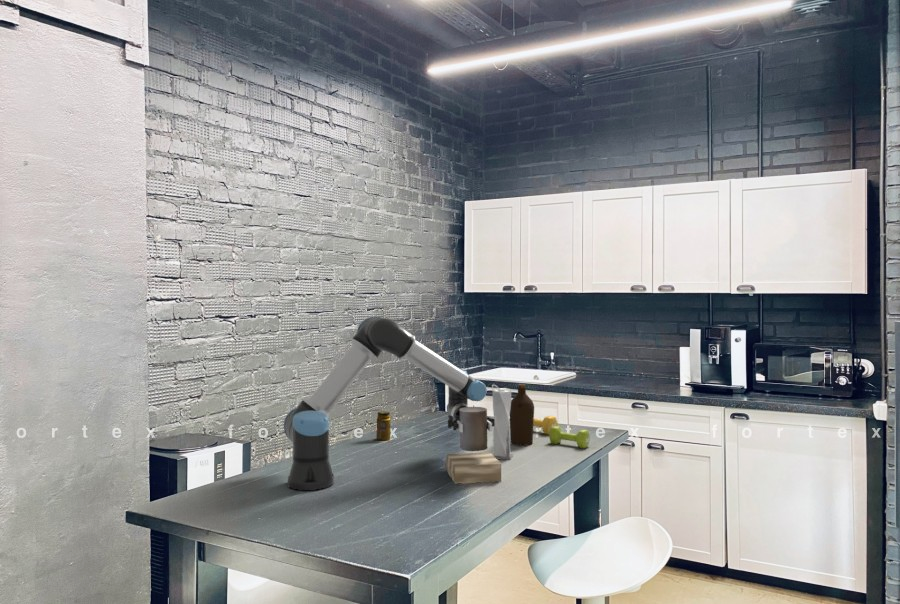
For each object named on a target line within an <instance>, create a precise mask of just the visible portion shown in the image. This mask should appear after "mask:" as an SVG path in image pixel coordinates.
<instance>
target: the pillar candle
mask: <svg viewBox="0 0 900 604" xmlns="http://www.w3.org/2000/svg"><path fill="white" fill-rule="evenodd" d="M459 410H460V422H461V423H462V424H463V432H460V431H459V449H461V450H462V451H466V452H482V451H485V450H487V449H488V429H487V416H488V409H487V408H486V407H483V406H475V405H472V406H468V407H465V408H461V409H459Z"/></svg>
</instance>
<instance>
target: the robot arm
mask: <svg viewBox="0 0 900 604" xmlns="http://www.w3.org/2000/svg"><path fill="white" fill-rule="evenodd" d="M382 352H386V353H389V354H391V355H393V356H395V357H397V358H398V359H404V360H406V361H408V362H409V363H412V364H413V365H414V366H416V367H417V368H419V369H421V370H422V371H424V372H426V373H427V374H428V375H430V376H432V377H433V378H435V379H436V380H438V381H440V382H441V383H442V384H444V385H447V386H448V388H447V389H448V398H447V399H448V401H447V402H448V403H447V405H446V413H448V415H447V428H448V429H451V428H452V427H453V431H457V430H458V431H459V433H460V432H463V424H462V423H461V422H460V410H459V409H461V408H465V407H469V405H468V403H469V402H468V400H470V401H472V402H481V401H482V400H484V399H485V398H486V395H487V392H488V389H487V386H486V384H485V383H484V382H482V381H480V380H479V379H478V380H477V379H476V378H474V377H472V376H470V375H469V374H468V371H467V370H463V369H460V368H459V367H457V366H456V365H454V364H453V363H452V362H450V361H448V360H446V359H445V358H444V357H442V356H441V355H439V354H438V353H436V352H434V351H433V350H432V349H430V348H428V347H427V346H425V345H424V344H422V343H421V342H419V341H417V340H416V335H414V334H412V333H411V332H410V331H409V330H407V329H405V328H404V327H403V326H402V325H400V324H399V323H398V322H396V321H394V319H393V320H392V319H391V318H388V317H381V316H371V317H367V318H365V319H364V320H363V321H360V323H359V325H358V327H357V329H356V334H354V336H353V337H352V339H351V346H350V347H349V349H347V351H346V352H345V354H344V355H343V356H342V358H341V359H340V360H339V361H338V362H337V364H336V365H335V366H334V368H333V369H332V370H330V373H329V374H328V375H327V376H326V377H325V378H324V380H323V381H322V382H321V383H320V385H319V386H318V388H316V390H315V391H314V392H313V394H311V396H310V397H309V398H303V399H302V401H301V402H300V403H299V404H298V405H297V407H295V408H293V409H291V410H290V411H288V413H287V414H286V415H285V417H284V420H283V429H284V430H283V431H284V434H285V436H286V437H287V438H288V440H290V441H291V443H292V464H291V468H290V471H289V474H288V477H287V487H288V486H289V487H291V488H293V489H292V490H295V489H298V490H297V491H303V490H310V491H317V490H316V489H319V490H322V489H321V488H324V489H326V487H327V488H329V486H330V487H332V486H333V485H334V483H335V475H334V473H333V470H332V467H331V463H330V459H329V458H330V456H329V453H330V452H329V451H330V450H329V448H330V445H329V443H330V436H329V435H330V432H329V431H330V430H329V429H330V422H329V420H330V415H329V414H330V412H331V411H332V410H333V409H334V407H335V406H336V404H338V402H339V401H340V400H341V398H342V397H343V396H344V394H345V393H346V392H347V390H348V389H349V388H350V387H351V386H352V384H353V383H354V381H355V380H356V379H357V378H358V376H359V375H360V374H361V372H362V371H363V370H364V369H365V368H366V366H367V365H369V363H370V361H372V360H377V359H378V358H379V356H380V355H381V354H382ZM494 426H495V419H494V417H490V416H488V415H487V431H489V432H492V431H493V427H494ZM331 485H332V486H331ZM289 487H288V488H289ZM291 488H290V489H291Z"/></svg>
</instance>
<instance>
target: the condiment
mask: <svg viewBox="0 0 900 604" xmlns="http://www.w3.org/2000/svg"><path fill="white" fill-rule="evenodd" d="M376 417H377V418H376V438H373V439H371V440H369V442H376V443H384V444H385V443H387V442H390V441H392V440H394V439H395V438H393V437H391V434H392V433H391V427H392V426H391V418H390V417H391V413H390V411H385V410H384V411H382V410H381V411H378V412H377V416H376Z"/></svg>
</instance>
